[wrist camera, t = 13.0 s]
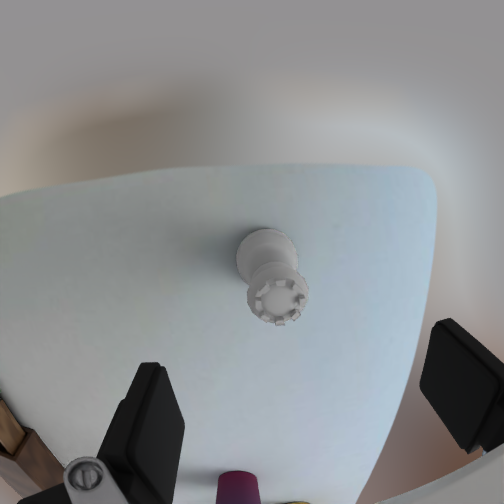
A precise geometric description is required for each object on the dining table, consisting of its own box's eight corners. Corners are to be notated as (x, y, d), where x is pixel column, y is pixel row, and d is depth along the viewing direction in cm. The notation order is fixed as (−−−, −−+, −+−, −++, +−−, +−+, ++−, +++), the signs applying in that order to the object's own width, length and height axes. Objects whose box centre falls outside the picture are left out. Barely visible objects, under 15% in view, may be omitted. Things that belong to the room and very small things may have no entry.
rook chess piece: (301, 232, 22) (334, 268, 14) (289, 288, 23) (311, 345, 16) (241, 222, 22) (243, 253, 14) (231, 280, 23) (229, 336, 15)
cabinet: (-13, 414, 28) (-31, 439, 21) (34, 429, 28) (15, 461, 21) (34, 473, 33) (22, 497, 26) (83, 488, 33) (73, 517, 26)
